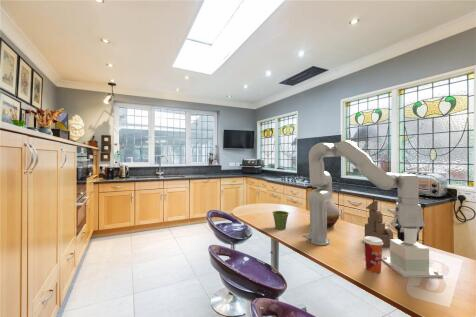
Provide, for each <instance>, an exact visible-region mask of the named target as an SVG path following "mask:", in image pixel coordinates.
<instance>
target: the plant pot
mask: <svg viewBox="0 0 476 317" xmlns="http://www.w3.org/2000/svg"><path fill="white" fill-rule="evenodd" d="M289 214H290V213H289V212H288V211H286V210H285V211H284V210H274V211H272V216H273V221H274V227H275V229H277V230H283V231H284V230H285V229H286V227H287V221H288V217H289Z"/></svg>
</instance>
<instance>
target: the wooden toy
mask: <svg viewBox="0 0 476 317" xmlns="http://www.w3.org/2000/svg"><path fill="white" fill-rule="evenodd" d="M378 207H379V206H378V200H373V201H372V202H371V203H370V204H368V206H366V207H365V209H366V210H368V214H369V215H368V216H367V223H365V224H364V237H366V236H372V237H377V238H380V239H381V240H382V242H383V245H382V248H390V239H394V232H393V231H392V229H391V228H390V227H388V226H386V222H384V221H383V219H384V217H383V214H382V212H381V210H378Z"/></svg>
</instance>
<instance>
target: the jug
mask: <svg viewBox="0 0 476 317" xmlns="http://www.w3.org/2000/svg"><path fill="white" fill-rule="evenodd" d="M325 207H326V212H327V228H332V227H334V225H336V223H337V222H338V219H339V218H340V209H339V207H338V205H337V204H336V203H334V202H333V200H331V201H329V202H328V203H325Z"/></svg>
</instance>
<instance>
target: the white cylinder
mask: <svg viewBox="0 0 476 317" xmlns="http://www.w3.org/2000/svg"><path fill="white" fill-rule="evenodd" d="M400 227H401V226H399V228H400ZM417 231H418V228H417V227H404V228H403V232H404V241H402V242H405V243H408V244H416V242H417V241H416V240H417Z"/></svg>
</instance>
